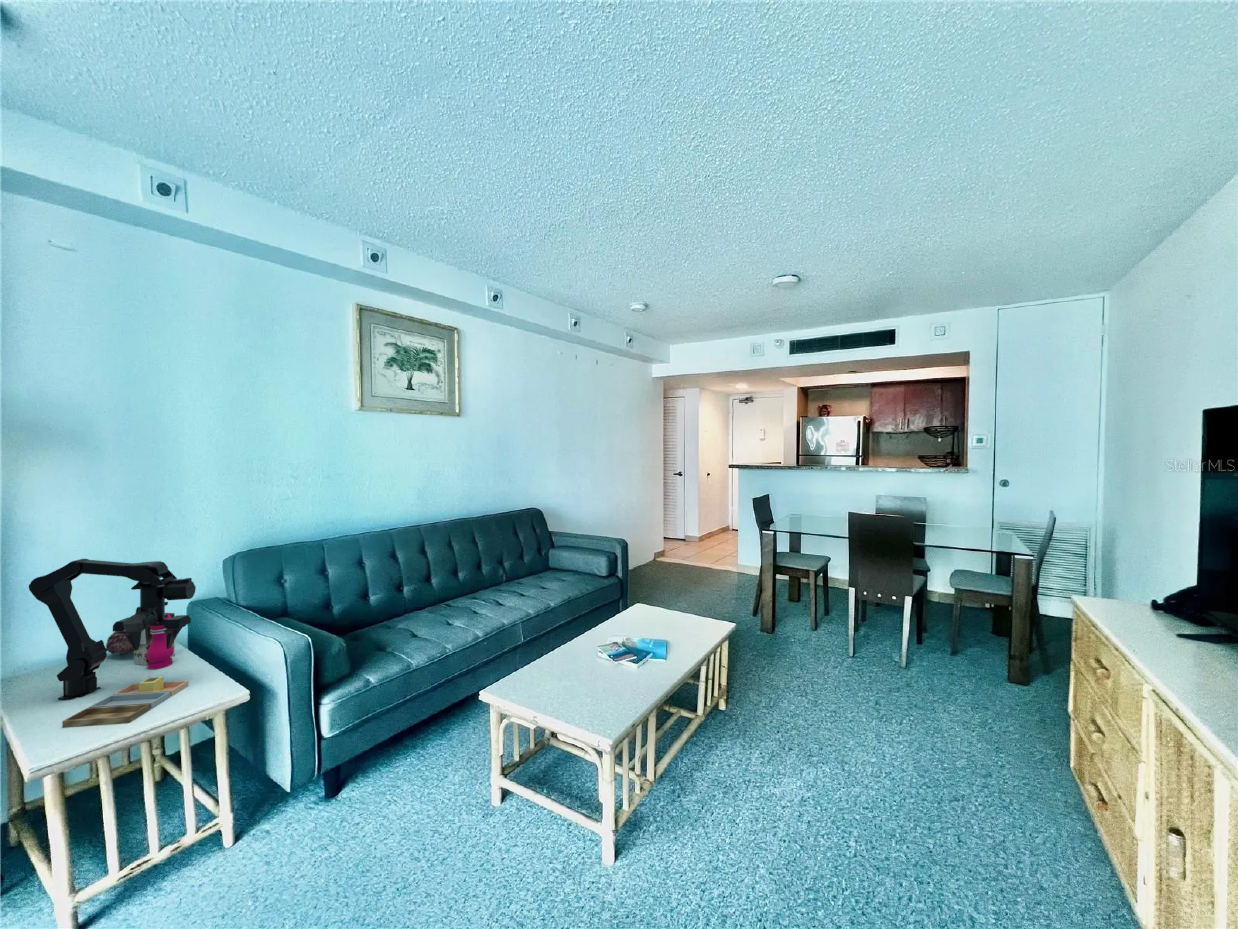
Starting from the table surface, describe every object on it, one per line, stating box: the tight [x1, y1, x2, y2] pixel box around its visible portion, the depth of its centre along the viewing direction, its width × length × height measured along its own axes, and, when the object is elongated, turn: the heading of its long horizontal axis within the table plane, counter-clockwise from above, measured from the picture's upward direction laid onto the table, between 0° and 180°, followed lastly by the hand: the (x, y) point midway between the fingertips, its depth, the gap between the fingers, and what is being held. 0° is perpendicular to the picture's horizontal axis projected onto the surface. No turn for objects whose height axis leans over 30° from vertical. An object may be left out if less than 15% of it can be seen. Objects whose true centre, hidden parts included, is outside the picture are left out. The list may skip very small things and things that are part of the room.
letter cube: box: [138, 676, 165, 692], centre depth 149 cm, size 4×4×4 cm
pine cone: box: [105, 631, 134, 656], centre depth 178 cm, size 18×10×10 cm, turn 54°
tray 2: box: [88, 692, 171, 710], centre depth 142 cm, size 16×7×2 cm, turn 99°
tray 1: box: [61, 704, 151, 728], centre depth 134 cm, size 16×7×2 cm, turn 99°
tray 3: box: [111, 680, 190, 698], centre depth 149 cm, size 16×7×2 cm, turn 99°
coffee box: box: [133, 612, 176, 666], centre depth 175 cm, size 9×6×16 cm
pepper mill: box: [146, 615, 175, 670], centre depth 170 cm, size 7×7×20 cm
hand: (152, 649), depth 154 cm, fingers open, 9 cm apart
